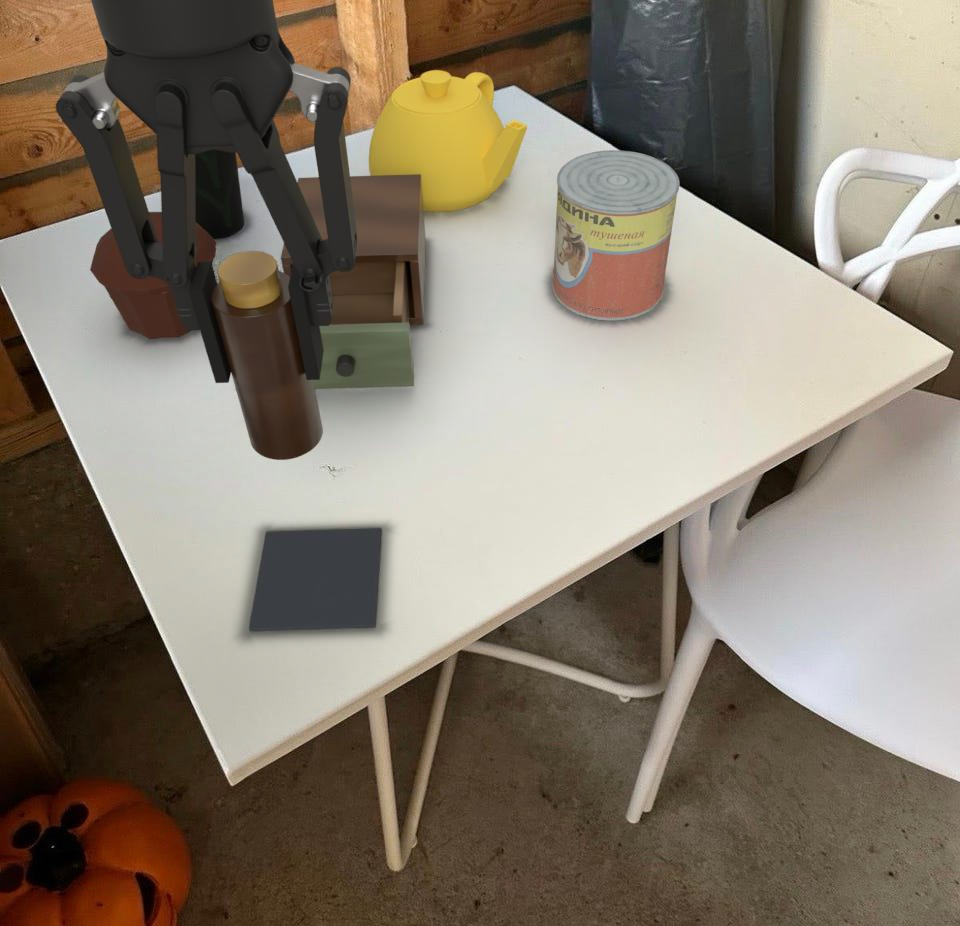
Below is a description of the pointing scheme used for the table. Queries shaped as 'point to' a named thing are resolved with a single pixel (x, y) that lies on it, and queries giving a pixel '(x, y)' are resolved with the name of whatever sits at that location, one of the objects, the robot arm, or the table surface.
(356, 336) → the drawer
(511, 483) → the table surface
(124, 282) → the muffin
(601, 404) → the table surface
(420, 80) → the teapot
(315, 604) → the mat
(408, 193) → the cabinet
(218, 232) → the cup
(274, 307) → the bottle
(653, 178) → the canned food
